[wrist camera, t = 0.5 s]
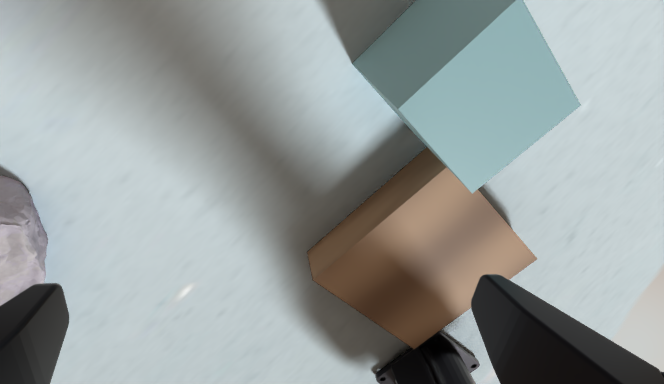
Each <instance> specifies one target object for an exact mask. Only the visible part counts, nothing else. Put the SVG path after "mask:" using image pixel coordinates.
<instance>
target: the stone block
mask: <svg viewBox="0 0 664 384" xmlns="http://www.w3.org/2000/svg"><path fill="white" fill-rule="evenodd" d="M47 244H48V238H47V234H46V232H45V231H44V229H43V227H42V224H41V221H40V217H39V214H38V212H37V210H36V208H35V206H34V203H33V200H32V197H31V196H30V194H29V192H28V191H27V189H26V188H25V186H24V185H23V184H22V183H21V182H19V181H17V180H14V179H12V178H9V177H5V176H1V175H0V306H1V305H2V304H4V303H5V302H7V301H9V300H10V299H12V298H13V297H15V296H16V295H18V294H19V293H21V292H22V291H24V290H26V289H27V288H29V287H30V286H32V285H34V284H40V283H44V280H45V276H46V271H45V263H44V260H45V258H46V247H47Z"/></svg>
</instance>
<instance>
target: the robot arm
mask: <svg viewBox="0 0 664 384" xmlns="http://www.w3.org/2000/svg"><path fill="white" fill-rule="evenodd" d="M471 308H472V312H473V315H474V317H475V320H476V323H477V325H478V328H479V331H480V334H481V336H482V339H483V342H484V344H485V347H486V350H487V353H488V355H489V358H490V361H491V363H492V366H493V368H494V370H495V373H496V375H497V377H498V379H499V381H500V383H501V384H664V372H660V371H659V369H657V368H656V367H654V366H653V365H651V364H649V363H647V362H646V361H644V360H642V359H641V358H639V357H637V356H636V355H634V354H632V353H631V352H629V351H627V350H626V349H624V348H622V347H621V346H619V345H617V344H615V343H614V342H612V341H611V340H609V339H607V338H606V337H604V336H602V335H600V334H599V333H597V332H595V331H594V330H592V329H590V328H589V327H587V326H585V325H584V324H582V323H580V322H579V321H577V320H575V319H574V318H572V317H570V316H569V315H567V314H565V313H564V312H562V311H560V310H559V309H557V308H555V307H553V306H552V305H550V304H548V303H547V302H545V301H543V300H542V299H540V298H538V297H537V296H535V295H533V294H532V293H530V292H528V291H527V290H525V289H523V288H522V287H520V286H518V285H517V284H515V283H513V282H511V281H510V280H508V279H506V278H505V277H503V276H501V275H499V274H485V275H482V276H481V277H480V279H479V281H478V284H477V286H476V289H475V291H474V294H473V297H472V300H471ZM68 324H69V312H68V308H67V304H66V300H65V296H64V292H63V289H62V287H61V285H59V284H57V283H40V284H34V285H32V286H30V287H29V288H27V289H26V290H24V291H22V292H21V293H19V294H18V295H16V296H15V297H13V298H12V299H10V300H9V301H7V302H5V303H4V304H2V305H1V306H0V384H50V382H51V379H52V376H53V372H54V369H55V366H56V363H57V360H58V357H59V353H60V350H61V347H62V344H63V341H64V338H65V335H66V331H67V328H68ZM479 365H480V364H479V362H478V360H477V359H476V358H475V357H474V356H472V355H471V354H470V353H468V352H467V351H466V350H464V349H463V348H462V347H461V346H459V345H458V344H457V343H455V342H454V341H453V340H451V339H450V338H449V337H447V336H446V335H445V334H443V333H442V332H441V331H438V332H437V333H436V334H434V335H433V336H432V337H430V338H429V339H427V340H426V341H425V342H423V343H422V344H421V345H419V346H418V347H416V348H415V349H413V348H412V347H411V348H410V349H409V350H407V351H406V352H405V353H403V354H402V355H401V356H399V357H398V358H397V359H395V360H394V361H393V362H391V363H390V364H388V365H387V366H386V367H384V368H383V369H382V370H380V371H379V372H378V373H377V374H376V375H375V376H376V380H377V382H378V383H380V384H476V383H475V381H474V380H473V378H472V376H471V374H470V373H471V372H472V371H474V370H475V369H477V368H478V367H479Z"/></svg>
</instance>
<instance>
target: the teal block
mask: <svg viewBox="0 0 664 384" xmlns="http://www.w3.org/2000/svg"><path fill="white" fill-rule="evenodd" d="M352 64H353V65H354V66H355V68H356V69H357V70H358V71H359V72H360V73H361V74H362V75H363V77H364V78H365V79H366V80H367V81H368V82H369V83H370V84H371V86H372V87H373V88H374V89H375V90H376V91H377V92H378V93H379V95H380V96H381V97H382V98H383V99H384V100H385V101H386V102H387V104H388V105H389V106H390V107H391V108H392V109H393V110H394V111H395V113H396V114H397V115H398V116H399V117H400V118H401V119H402V120H403V122H404V123H405V124H406V125H407V126H408V127H409V128H410V129H411V131H412V132H413V133H414V134H415V135H416V136H417V137H418V138H419V139H420V140H421V141H422V142H423V143H424V144H425V145H426V146H427V147H428V148H429V149H430V150H431V151H432V152H433V153H434V154H435V156H436V157H437V158H438V159H439V160H440V161H441V162H442V163H443V164H444V165H445V166H446V167H447V168H448V169H449V170H450V171H451V172H452V173H453V174H454V175H455V176H456V177H457V178H458V179H459V180H460V182H461V183H462V184H463V185H464V186H465V187H466V188H467V189H468V190H469V191H470V192H471V193H472V194H473V193H474V192H475V191H476V190H477V189H479V188H480V187H481V186H482V185H484V184H485V183H486V182H487V181H489V180H490V179H491V178H492V177H493V176H495V175H496V174H497V173H498V172H500V171H501V170H502V169H503V168H505V167H506V166H507V165H508V164H509V163H511V162H512V161H513V160H514V159H516V158H517V157H518V156H519V155H520V154H522V153H523V152H524V151H525V150H527V149H528V148H529V147H530V146H532V145H533V144H534V143H535V142H536V141H538V140H539V139H540V138H541V137H543V136H544V135H545V134H546V133H547V132H549V131H550V130H551V129H552V128H554V127H555V126H556V125H557V124H559V123H560V122H561V121H562V120H563V119H565V118H566V117H567V116H568V115H570V114H571V113H572V112H573V111H574V110H576V109H577V108H578V107H579V106H581V104H580V103H579V101H578V99H577V97H576V95H575V94H574V92H573V90H572V88H571V86H570V84H569V83H568V81H567V79H566V77H565V75H564V74H563V72H562V70H561V68H560V66H559V65H558V63H557V61H556V59H555V57H554V55H553V54H552V52H551V50H550V48H549V46H548V45H547V43H546V41H545V39H544V37H543V36H542V34H541V32H540V30H539V28H538V26H537V25H536V23H535V21H534V19H533V17H532V16H531V14H530V12H529V10H528V8H527V7H526V5H525V3H524V1H523V0H416V1H415V2H414V3H413V4H412V5H411V6H410V7H409V8H408V9H407V10H406V11H405V12H404V13H403V14H402V15H401V16H400V17H399V18H398V19H397V20H396V21H395V22H394V23H393V24H392V25H391V26H390V27H389V28H388V29H387V30H386V31H385V32H384V33H383V34H382V35H381V36H380V37H379V38H378V39H377V40H376V41H375V42H374V43H373V44H372V45H370V46H369V47H368V48H367V49H366V50H365V51H364V52H363V53H362V54H361V55H360V56H359V57H358V58H357V59H356V60H355V61H354V62H353V63H352Z"/></svg>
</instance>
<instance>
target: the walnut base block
mask: <svg viewBox="0 0 664 384" xmlns="http://www.w3.org/2000/svg"><path fill="white" fill-rule="evenodd" d="M307 254H308V259H309V263H310V268H311V273H312V278H313V281H315V282H316V283H318V284H319V285H321V286H322V287H323V288H325V289H326V290H328V291H329V292H331V293H332V294H334V295H335V296H337V297H338V298H340V299H341V300H343V301H344V302H346V303H347V304H348V305H350V306H351V307H353V308H354V309H356V310H357V311H359V312H360V313H362V314H363V315H365V316H366V317H368V318H369V319H371V320H372V321H373V322H375V323H376V324H378V325H379V326H381V327H382V328H384V329H385V330H387V331H388V332H390V333H391V334H393V335H394V336H396V337H397V338H399V339H400V340H401V341H403V342H404V343H406V344H407V345H409V346H410V347H412V348H413V349H415V348H416V347H418V346H419V345H421V344H422V343H423V342H425V341H426V340H427V339H429V338H430V337H432V336H433V335H434V334H436V333H437V332H438V331H440V330H441V329H442V328H444V327H445V326H447V325H448V324H449V323H451V322H452V321H453V320H455V319H456V318H457V317H459V316H460V315H462V314H463V313H464V312H466V311H467V310H468V309H470V308H471V300H472V297H473V294H474V291H475V289H476V286H477V284H478V281H479V279H480V277H481V276H482V275H485V274H499V275H501V276H503V277H505V278H506V279H508V280H509V279H511V278H512V277H513V276H515V275H516V274H518V273H519V272H520V271H522V270H523V269H524V268H526V267H527V266H528V265H530V264H531V263H533V262H534V261H535V260H537V258H536V257H535V256H534V254H533V253H532V252H531V251H530V250H529V249H528V247H527V246H526V245H525V244H524V243H523V241H522V240H521V239H520V238H519V237H518V236H517V234H516V233H515V232H514V231H513V230H512V229H511V227H510V226H509V225H508V224H507V223H506V222H505V220H504V219H503V218H502V217H501V216H500V215H499V213H498V212H497V211H496V210H495V209H494V208H493V206H492V205H491V204H490V203H489V202H488V201H487V199H486V198H485V197H484V196H483V195H482V194H481V192H480V191H479V190H478V189H477V190H476V191H475V192H474V193H473V194H472V193H471V192H470V191H469V190H468V189H467V188H466V187H465V186H464V185H463V184H462V183H461V182H460V180H459V179H458V178H457V177H456V176H455V175H454V174H453V173H452V172H451V171H450V170H449V169H448V168H447V167H446V166H445V165H444V164H443V163H442V162H441V161H440V160H439V159H438V158H437V157H436V156H435V154H434V153H433V152H432V151H431V150H430V149H429V148H428V147H427V148H425V149H424V150H423V151H422V152H421V153H420V154H419V155H417V156H416V157H415V158H414V159H413V160H412V161H411V162H409V163H408V164H407V165H406V166H405V167H404V168H403V169H401V170H400V171H399V172H398V173H397V174H396V175H395V176H393V177H392V178H391V179H390V180H389V181H388V182H387V183H385V184H384V185H383V186H382V187H381V188H380V189H379V190H377V191H376V192H375V193H374V194H373V195H372V196H371V197H369V198H368V199H367V200H366V201H365V202H364V203H363V204H361V205H360V206H359V207H358V208H357V209H356V210H355V211H353V212H352V213H351V214H350V215H349V216H348V217H346V218H345V219H344V220H343V221H342V222H341V223H340V224H338V225H337V226H336V227H335V228H334V229H333V230H332V231H330V232H329V233H328V234H327V235H326V236H325V237H324V238H322V239H321V240H320V241H319V242H318V243H317V244H316V245H314V246H313V247H312V248H311V249H310V250H309V251H308V252H307Z"/></svg>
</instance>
